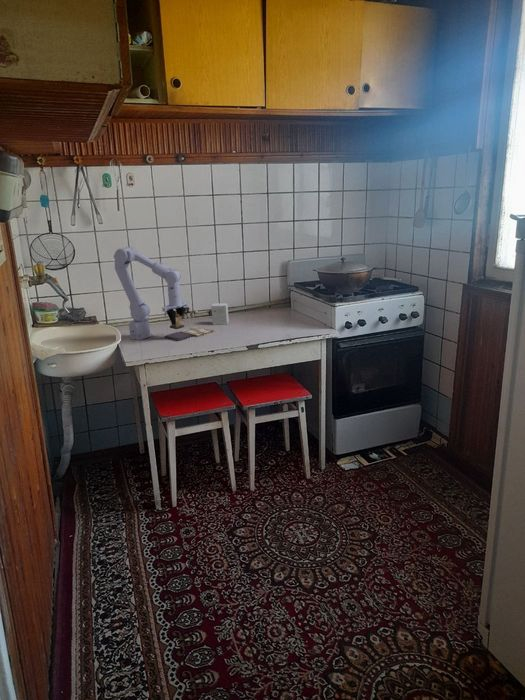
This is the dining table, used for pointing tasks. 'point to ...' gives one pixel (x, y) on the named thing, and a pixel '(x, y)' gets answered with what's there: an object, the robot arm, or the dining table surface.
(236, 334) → the dining table surface
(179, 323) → the stamp
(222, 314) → the small box
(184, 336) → the ink pad
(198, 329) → the board
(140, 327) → the robot arm
